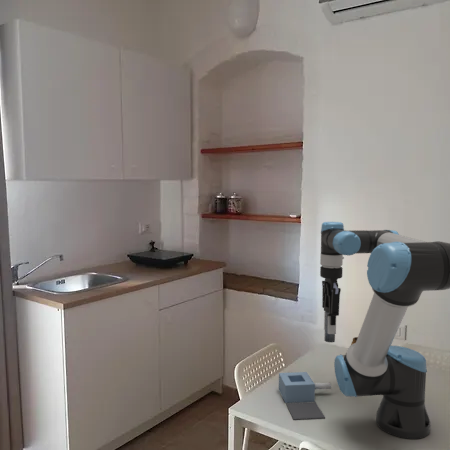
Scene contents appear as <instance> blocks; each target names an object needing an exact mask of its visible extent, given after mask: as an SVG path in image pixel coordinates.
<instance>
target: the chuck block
mask: <svg viewBox="0 0 450 450" xmlns="http://www.w3.org/2000/svg"><path fill="white" fill-rule="evenodd" d="M331 388H332V383H331V382H314V381H313V379H312V377H311V376H310V375H309V373H308V372H307V371H298V372H296V371H295V372H279V373H278V391H279V393H280V395H281V398H282V399H283V401H284V403H285V404H286V403H303V402H316V401H315V399H316V397H315V395H316V390H328V389H331ZM331 390H332V389H331Z"/></svg>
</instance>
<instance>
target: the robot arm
mask: <svg viewBox="0 0 450 450" xmlns="http://www.w3.org/2000/svg"><path fill="white" fill-rule="evenodd" d="M344 227H345V226H344V223H343V222H341V221H324V222H322V223H321V227H320V261H319V264H320V265H321V266H320V272H319V273H320V274H319V275H320V277H321V278H323V279H324V280H322V281H321V284H322V285H321V286H322V287H321V288H322V302H321V303H322V305H321V307H322V309H323V311H324V314H323V317H324V318H323V330H324V331H325V307H326V306H329V314H327V316H328V334H335V335H336V334H337V317H339V315H340V300H341V299H340V298H341V292H342V288H341V287H339V283H338V279H342V278H343V267H342V266H343V260H344V259H345V257H344V256H353V255H356V254H370V255H369V257H368V261H367V270H366V276H367V281H368V284H369V286H370V287H371V290H372V292H373V295H372V298H371V301H370V304H369V306H368V309H367V311H366V314H365V317H364V320H363V323H362V325H361V327H360V331H359V334H358V336H357V337H358V338H357V341H356V343H354V344H352V345H351V344H350V345H349V346H348V348H347V350H346V353H345V354H338V355H336V356H335V358H334V362H333V363H334V374H335V378H336V382H337V387H338V388H339V390H340V392H341V394H342V395H344V396H345V397H355V398H357V397H371V396H382V398H381V401H380V404H379V406H378V409H377V411H376V414H375V416H376V417H375V418H376V419H375V422H376V424H377V426H378V427H379V428H380V429H381V430H382V431H384V432H386V433H387V434H390V435H392V436H395V437H397V438H402V439H407V440H408V439H411V440H413V439H414V440H417V439H422V438H425V437H427V436H428V435H429V434H430V433H431V421H430V416H429V415H428V411H427V407H426V402H425V401H426V387H427V386H426V383H427V382H426V380H427V372H428V371H427V360H426V357H425V356H424V355H423V354H422V353H420V352H419V351H416V350H415V349H411V348H409V347H405V346H399V345H392V343H393V342H394V339H395V337H396V335H397V333H398V330H399V329H400V328H399V327H400V325H401V323H402V322H403V319H404V316H405V314H406V312H407V309H408V308H409V307H412V306H414V305H415V304H417V303H418V301H419V299H420V297H421V295H422V293H423V292H429V291H445V290H449V289H450V242H446V241H445V242H444V241H436V240H435V241H424V240H421V239H420V240H419V239H416V238H412V237H408V236H405V235H401V234H399V233H398V231H396V230H394V229H393V230H392V229H391V230H390V229H383V230H382V229H381V230H378V229H377V230H375V229H374V230H367V229H366V230H362V229H361V230H354V229H353V230H346V229H345V228H344Z"/></svg>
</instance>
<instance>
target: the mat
mask: <svg viewBox="0 0 450 450" xmlns="http://www.w3.org/2000/svg"><path fill="white" fill-rule="evenodd" d="M285 407H286V408H287V409H288V412H289V413H290V415H291V418H292V420H293V421H302V420H303V421H304V420H322V419H326V416H325V414H324V413H323V411H322V410H321V408H320V407H319V405H318V403H317V402H316V401H315V402H296V403H285Z"/></svg>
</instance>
